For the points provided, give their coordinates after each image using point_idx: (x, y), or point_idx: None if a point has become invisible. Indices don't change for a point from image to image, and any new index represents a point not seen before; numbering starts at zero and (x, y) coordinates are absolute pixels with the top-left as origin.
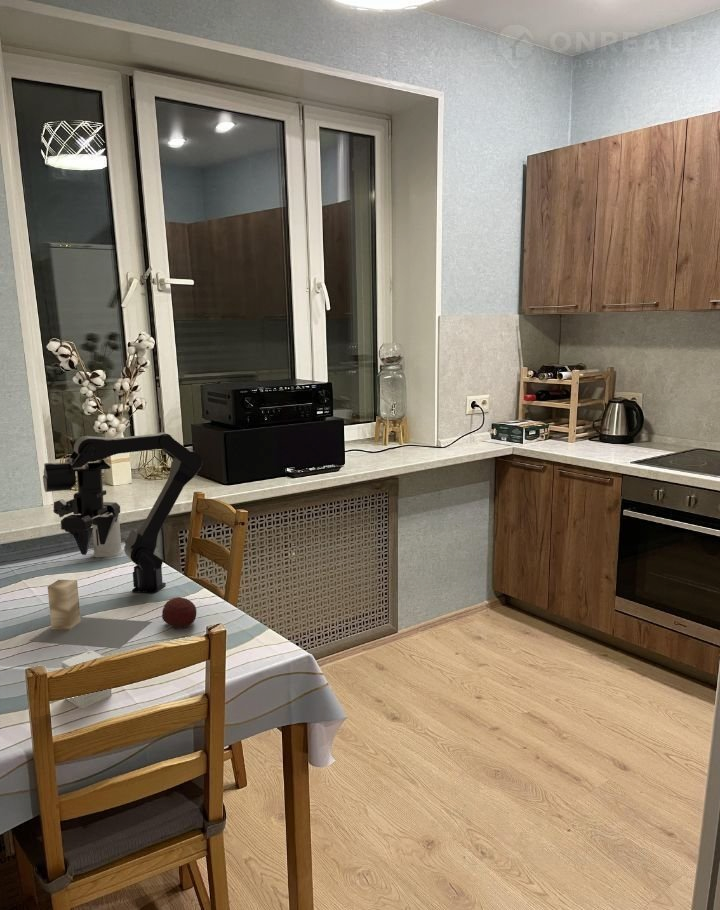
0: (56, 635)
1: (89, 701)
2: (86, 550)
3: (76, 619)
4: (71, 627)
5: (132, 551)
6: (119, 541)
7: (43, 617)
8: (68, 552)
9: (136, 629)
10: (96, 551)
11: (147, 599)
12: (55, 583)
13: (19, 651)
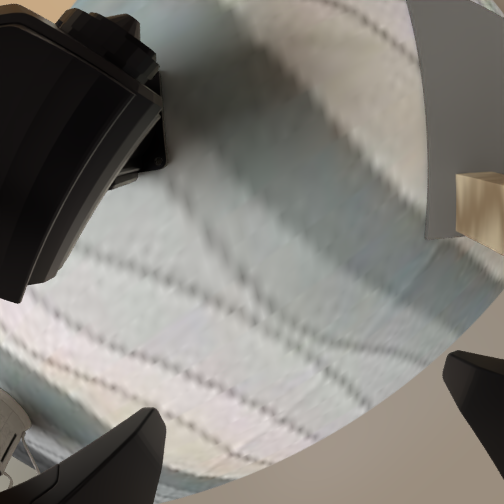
0: None
1: None
2: (486, 356)
3: (479, 175)
4: (490, 172)
5: (141, 86)
6: None
7: (421, 306)
8: (53, 462)
9: (450, 1)
10: (23, 428)
11: (223, 59)
12: None
13: None
